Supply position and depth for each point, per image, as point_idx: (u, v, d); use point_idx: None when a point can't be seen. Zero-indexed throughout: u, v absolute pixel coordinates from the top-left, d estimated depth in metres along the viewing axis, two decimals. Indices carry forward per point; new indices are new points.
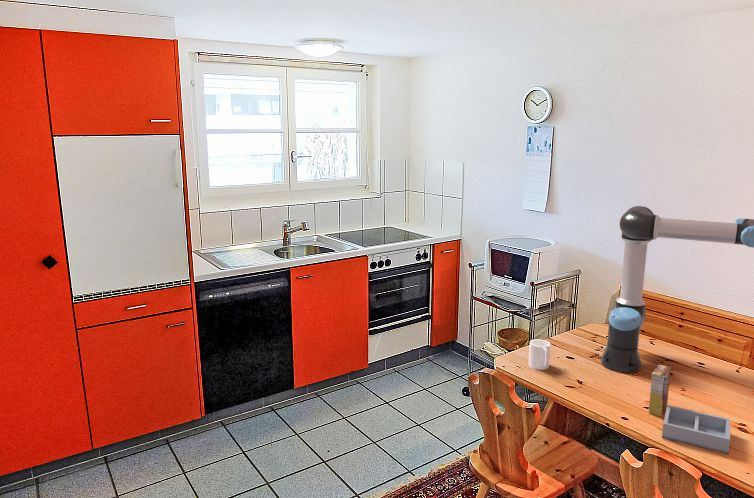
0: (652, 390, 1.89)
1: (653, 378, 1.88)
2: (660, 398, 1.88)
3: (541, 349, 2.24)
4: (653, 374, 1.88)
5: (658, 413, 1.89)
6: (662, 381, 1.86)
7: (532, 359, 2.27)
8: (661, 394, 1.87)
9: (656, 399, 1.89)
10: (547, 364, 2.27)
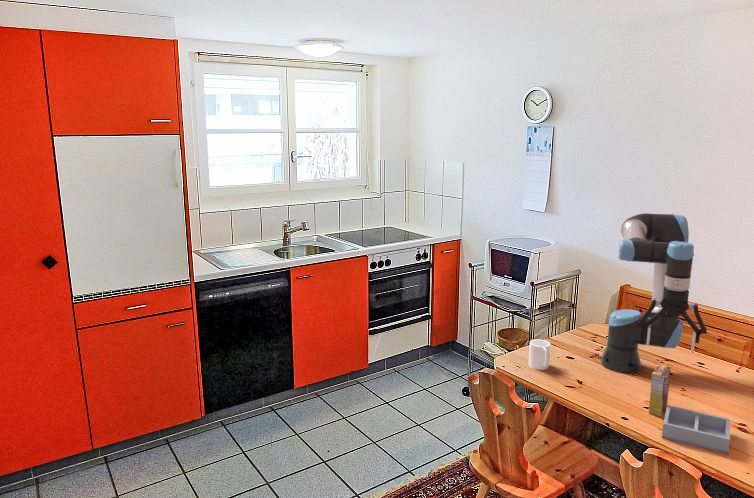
0: (652, 390, 1.89)
1: (653, 378, 1.88)
2: (660, 398, 1.88)
3: (541, 349, 2.24)
4: (653, 374, 1.88)
5: (658, 413, 1.89)
6: (662, 381, 1.86)
7: (532, 359, 2.27)
8: (661, 394, 1.87)
9: (656, 399, 1.89)
10: (547, 364, 2.27)
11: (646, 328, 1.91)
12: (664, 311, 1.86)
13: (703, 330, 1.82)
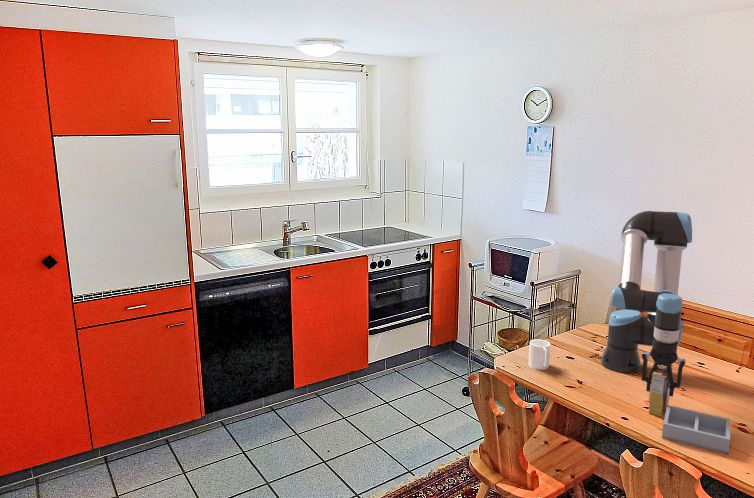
0: (652, 390, 1.89)
1: (654, 378, 1.88)
2: (660, 398, 1.88)
3: (541, 349, 2.24)
4: (654, 374, 1.88)
5: (658, 413, 1.89)
6: (663, 381, 1.86)
7: (532, 359, 2.27)
8: (661, 394, 1.87)
9: (657, 399, 1.88)
10: (547, 364, 2.27)
11: (648, 385, 1.93)
12: (656, 363, 1.89)
13: (677, 384, 1.87)
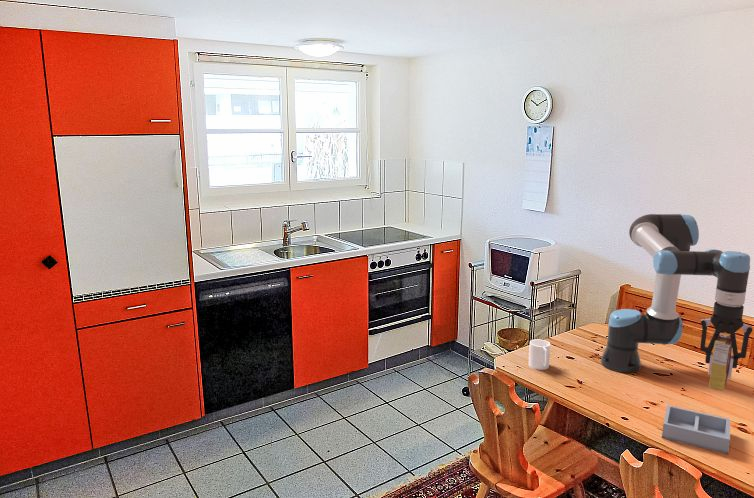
0: (714, 361, 1.67)
1: (716, 347, 1.66)
2: (723, 370, 1.66)
3: (541, 349, 2.24)
4: (716, 343, 1.65)
5: (720, 387, 1.67)
6: (727, 351, 1.64)
7: (532, 359, 2.27)
8: (725, 365, 1.65)
9: (719, 371, 1.66)
10: (547, 364, 2.27)
11: (708, 355, 1.70)
12: (718, 330, 1.67)
13: (743, 354, 1.65)
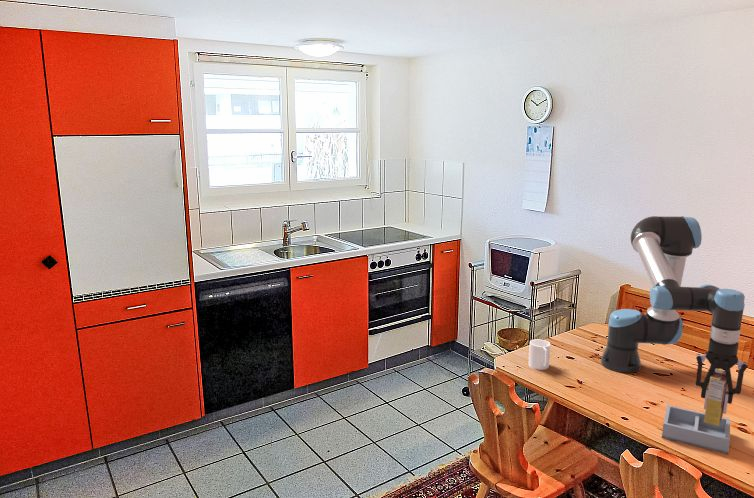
0: (709, 397, 1.69)
1: (711, 383, 1.68)
2: (718, 406, 1.68)
3: (541, 349, 2.24)
4: (711, 379, 1.68)
5: (715, 422, 1.70)
6: (722, 387, 1.67)
7: (532, 359, 2.27)
8: (720, 401, 1.68)
9: (714, 406, 1.69)
10: (547, 364, 2.27)
11: (704, 390, 1.73)
12: (713, 366, 1.69)
13: (738, 390, 1.68)
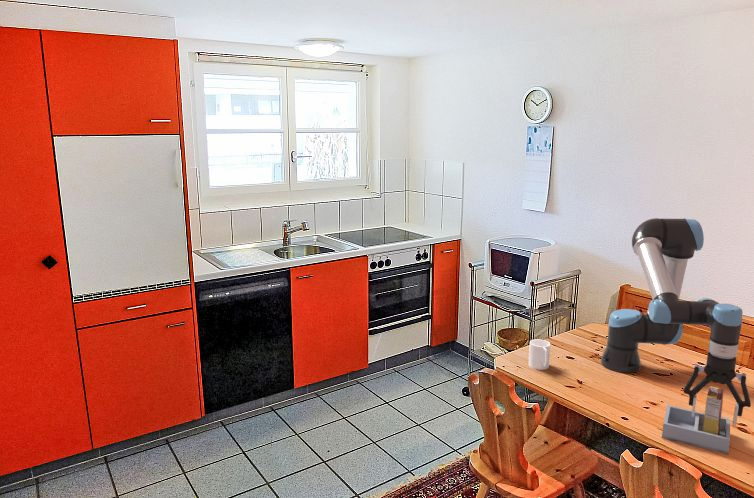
0: (706, 415, 1.71)
1: (708, 402, 1.70)
2: (715, 424, 1.70)
3: (541, 349, 2.24)
4: (708, 398, 1.70)
5: None
6: (718, 405, 1.68)
7: (532, 359, 2.27)
8: (717, 420, 1.69)
9: (712, 425, 1.70)
10: (547, 364, 2.27)
11: (691, 398, 1.75)
12: (709, 379, 1.71)
13: (747, 403, 1.67)
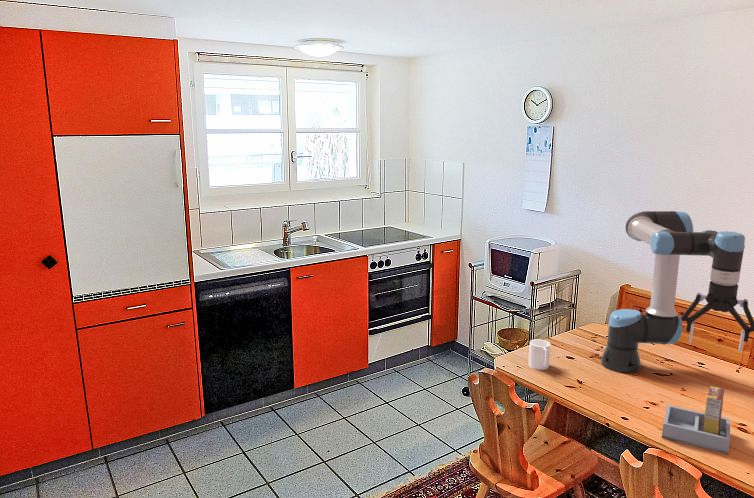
0: (707, 415, 1.71)
1: (708, 402, 1.70)
2: (716, 424, 1.70)
3: (541, 349, 2.24)
4: (708, 398, 1.70)
5: None
6: (719, 406, 1.68)
7: (532, 359, 2.27)
8: (717, 420, 1.69)
9: (712, 425, 1.70)
10: (547, 364, 2.27)
11: (689, 325, 1.77)
12: (710, 307, 1.72)
13: (753, 328, 1.67)
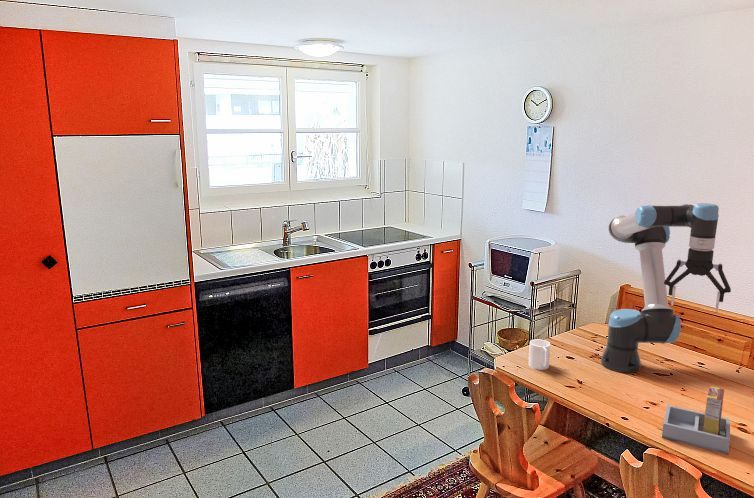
0: (707, 415, 1.71)
1: (708, 402, 1.70)
2: (716, 424, 1.70)
3: (541, 349, 2.24)
4: (708, 398, 1.70)
5: None
6: (719, 406, 1.68)
7: (532, 359, 2.27)
8: (717, 420, 1.69)
9: (712, 425, 1.70)
10: (547, 364, 2.27)
11: (671, 288, 1.97)
12: (689, 271, 1.92)
13: (727, 289, 1.87)
